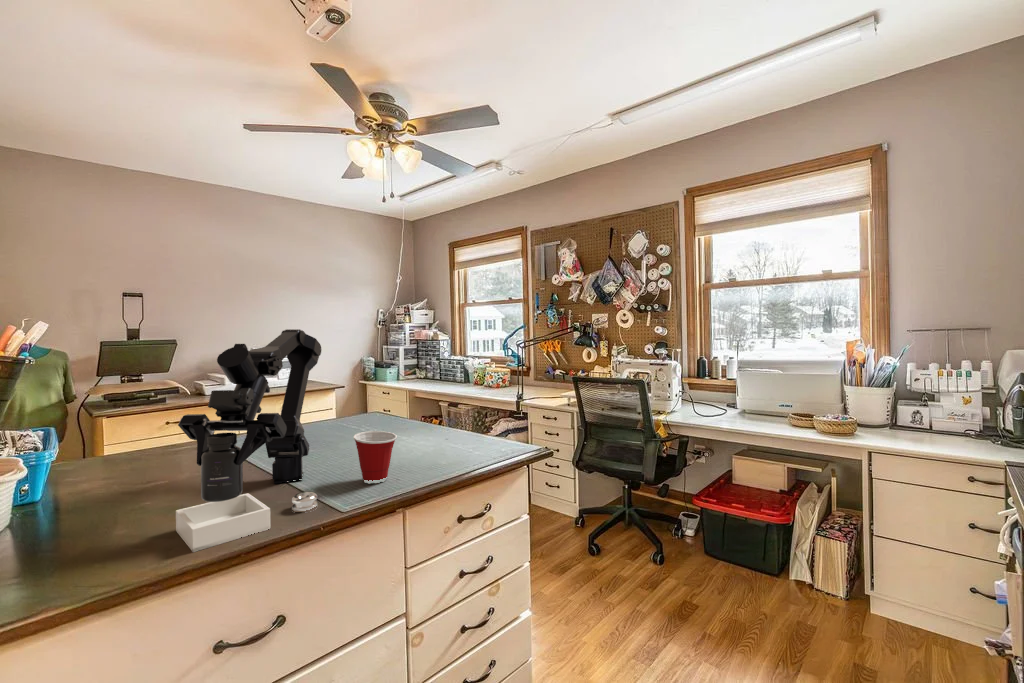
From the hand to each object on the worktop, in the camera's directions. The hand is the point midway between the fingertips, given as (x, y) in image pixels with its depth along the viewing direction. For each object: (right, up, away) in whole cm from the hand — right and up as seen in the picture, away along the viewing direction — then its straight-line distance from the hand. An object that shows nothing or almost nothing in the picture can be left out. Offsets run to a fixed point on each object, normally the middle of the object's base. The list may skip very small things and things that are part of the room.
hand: (218, 464), depth 85 cm
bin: (0, -13, +1) cm, 13 cm away
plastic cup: (+21, -13, +30) cm, 39 cm away
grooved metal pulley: (+11, -13, +12) cm, 21 cm away
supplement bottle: (0, -7, +2) cm, 7 cm away
